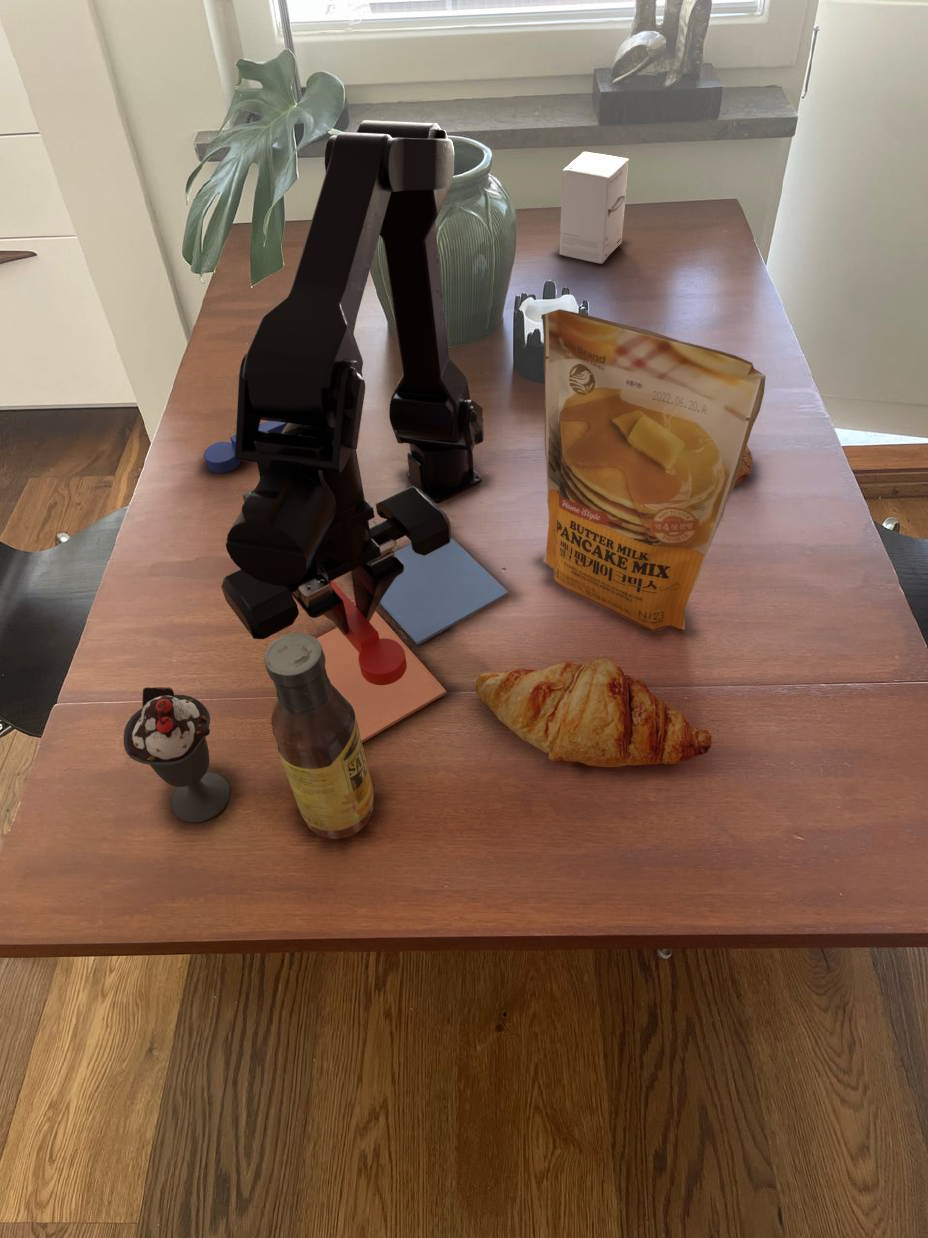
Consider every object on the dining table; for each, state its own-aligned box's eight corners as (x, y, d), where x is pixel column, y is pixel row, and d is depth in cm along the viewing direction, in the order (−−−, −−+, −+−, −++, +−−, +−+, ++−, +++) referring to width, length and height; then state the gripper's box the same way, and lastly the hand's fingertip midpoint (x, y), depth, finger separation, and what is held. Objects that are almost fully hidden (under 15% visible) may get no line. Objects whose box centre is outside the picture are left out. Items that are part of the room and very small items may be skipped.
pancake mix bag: (556, 533, 98) (564, 288, 78) (718, 609, 90) (776, 357, 69) (519, 570, 95) (517, 324, 74) (684, 652, 87) (734, 401, 66)
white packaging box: (602, 265, 136) (608, 177, 127) (557, 255, 139) (560, 168, 130) (623, 243, 140) (630, 157, 131) (579, 234, 143) (583, 149, 134)
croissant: (467, 741, 85) (446, 729, 78) (496, 638, 87) (478, 616, 80) (698, 803, 79) (699, 796, 72) (724, 691, 81) (727, 672, 74)
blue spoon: (289, 423, 114) (285, 407, 112) (304, 438, 112) (300, 422, 110) (201, 460, 110) (196, 444, 108) (215, 477, 108) (210, 461, 106)
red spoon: (309, 611, 84) (304, 593, 83) (346, 592, 86) (343, 574, 84) (376, 693, 78) (372, 675, 76) (415, 670, 79) (413, 653, 77)
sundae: (224, 838, 76) (172, 733, 65) (149, 825, 77) (85, 720, 66) (252, 770, 80) (207, 661, 69) (180, 759, 81) (125, 650, 70)
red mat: (373, 610, 92) (373, 608, 92) (446, 693, 85) (446, 690, 84) (285, 657, 89) (284, 655, 88) (353, 748, 81) (352, 745, 81)
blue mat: (442, 530, 99) (441, 528, 99) (508, 594, 93) (508, 592, 92) (354, 575, 96) (354, 572, 95) (417, 645, 89) (417, 643, 88)
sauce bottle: (381, 834, 75) (345, 685, 61) (306, 850, 75) (251, 704, 60) (370, 768, 80) (334, 614, 65) (298, 783, 79) (245, 631, 64)
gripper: (374, 397, 78) (394, 532, 89) (169, 486, 71) (219, 620, 83) (449, 462, 71) (460, 599, 83) (231, 567, 65) (276, 700, 77)
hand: (354, 626), depth 82 cm, fingers closed on red spoon, 2 cm apart
